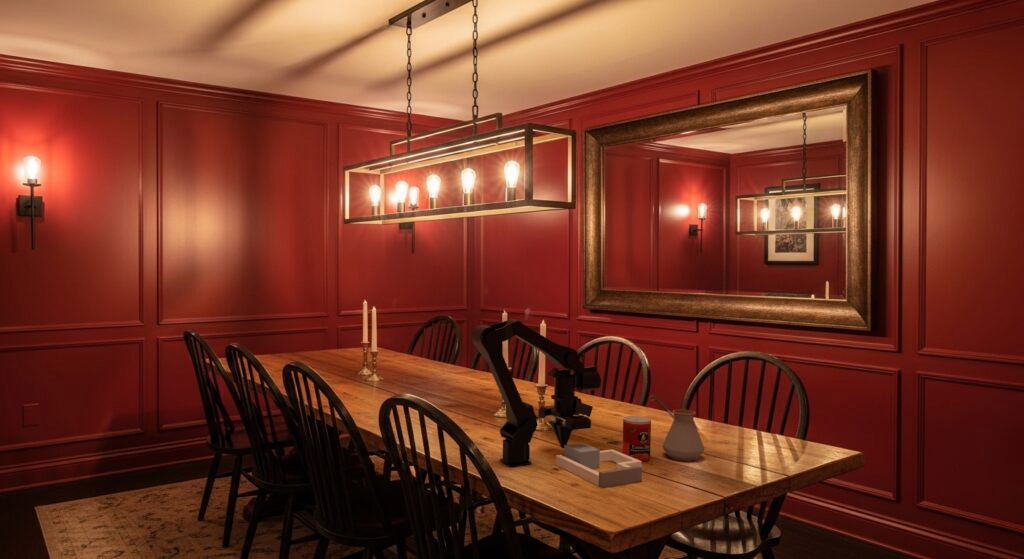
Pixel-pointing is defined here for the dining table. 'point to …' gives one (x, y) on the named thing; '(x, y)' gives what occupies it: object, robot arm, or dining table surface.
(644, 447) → the canned food
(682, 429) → the coffee pot
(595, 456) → the slate block
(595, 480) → the white tray
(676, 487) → the dining table surface
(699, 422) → the dining table surface
